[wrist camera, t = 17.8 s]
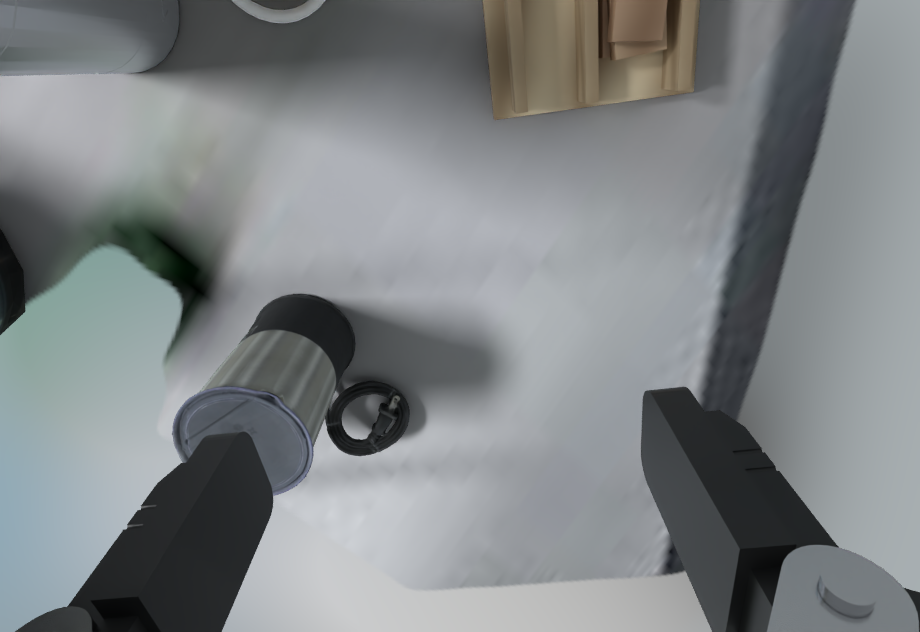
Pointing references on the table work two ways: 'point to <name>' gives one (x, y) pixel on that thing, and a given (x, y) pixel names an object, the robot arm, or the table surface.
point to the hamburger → (279, 11)
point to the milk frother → (288, 392)
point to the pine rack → (578, 57)
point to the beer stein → (10, 286)
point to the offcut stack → (631, 27)
